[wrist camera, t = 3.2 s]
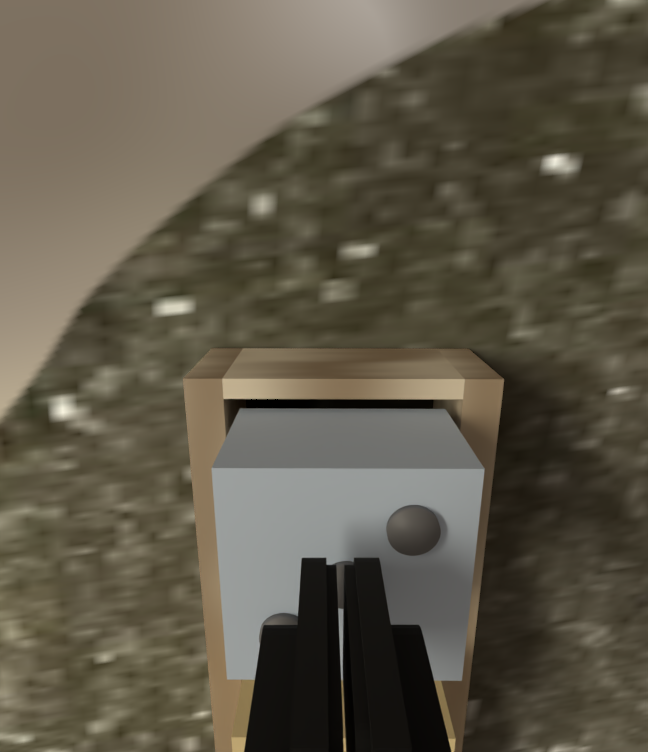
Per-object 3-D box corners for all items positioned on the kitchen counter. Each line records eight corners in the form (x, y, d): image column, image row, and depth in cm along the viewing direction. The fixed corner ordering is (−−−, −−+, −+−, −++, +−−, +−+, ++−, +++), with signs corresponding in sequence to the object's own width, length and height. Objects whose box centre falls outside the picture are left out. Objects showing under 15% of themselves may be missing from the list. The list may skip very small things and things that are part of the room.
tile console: (468, 348, 17) (504, 379, 14) (426, 821, 24) (442, 920, 21) (211, 348, 17) (182, 378, 14) (244, 820, 24) (230, 918, 21)
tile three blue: (445, 408, 14) (487, 473, 11) (432, 580, 16) (464, 688, 12) (239, 408, 14) (209, 472, 11) (249, 579, 16) (225, 686, 12)
